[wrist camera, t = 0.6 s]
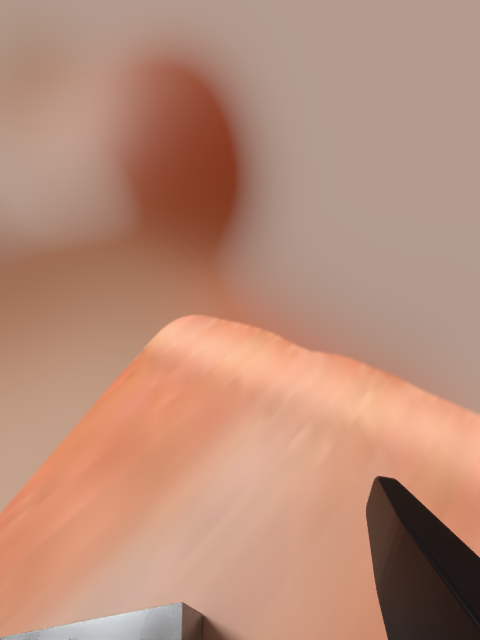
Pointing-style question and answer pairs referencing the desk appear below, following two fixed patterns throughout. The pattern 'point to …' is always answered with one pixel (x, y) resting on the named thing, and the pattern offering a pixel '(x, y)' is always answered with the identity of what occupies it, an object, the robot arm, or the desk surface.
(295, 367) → the desk surface
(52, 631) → the socket block
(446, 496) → the desk surface
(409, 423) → the desk surface
